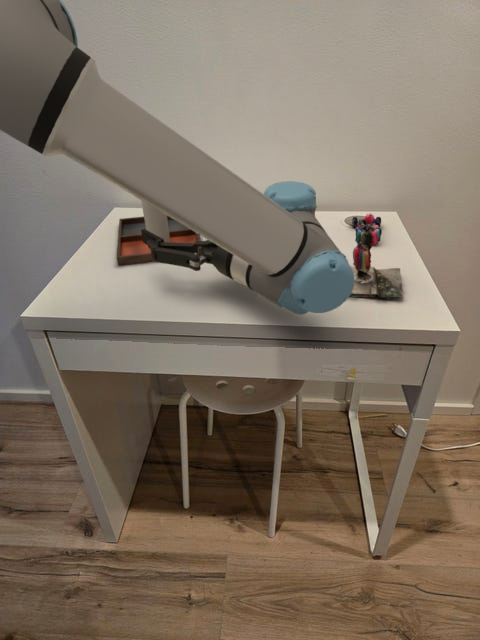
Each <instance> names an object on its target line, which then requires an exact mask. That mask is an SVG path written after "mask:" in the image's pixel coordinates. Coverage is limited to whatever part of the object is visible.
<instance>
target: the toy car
mask: <svg viewBox="0 0 480 640" xmlns="http://www.w3.org/2000/svg"><path fill="white" fill-rule="evenodd" d="M373 223H375V224H376V225H377V226H379V228H380V227H381V224H382V217H381V216H376V217H375V218H374V221H373ZM373 223H372V224H373ZM362 224H364V225H366V224H367V223H366V221H365V217H364V218H359V220H358V216H353V217H352V219H351V227H352V228H356V227H358V225H362ZM372 224H371V226H372Z"/></svg>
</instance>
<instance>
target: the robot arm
mask: <svg viewBox="0 0 480 640" xmlns="http://www.w3.org/2000/svg"><path fill="white" fill-rule="evenodd" d="M78 45H79V44H78V35H77V31H76V27H75V23H74V21H73V19H72V16H71V15H70V12H69V10H68V9H67V7H66V6H65V4H64V2H63V1H62V0H0V132H1V133H2V132H3V133H5V134H6V135H8V136H10V137H11V138H13V139H14V140H16V141H18V142H20V143H22V144H23V145H25V146H27V147H29V148H31V149H32V150H33V151H36V152H38V153H39V154H41V155H43V156H44V157H50V156H56V155H64V156H66V157H68V158H69V159H71V160H73V161H75V162H76V163H77V164H79V165H81V166H82V167H84V168H85V169H88V170H90V171H91V172H93V173H95V174H96V175H98V176H100V177H102V178H103V179H105V180H107V182H110V183H112V184H113V185H115V186H117V187H118V188H120V189H121V190H123V191H125V192H127V193H129V194H131V195H132V196H134V197H135V198H137V199H138V200H140V201H141V200H142V201H144V202H145V203H147V204H149V205H150V206H152V207H154V208H155V209H157V210H159V211H160V212H162V213H164V214H165V215H167V216H169V217H171V218H172V219H174V220H176V221H177V222H179V223H181V224H182V225H184V226H186V227H187V228H189V229H191V230H192V231H194V232H196V233H198V234H199V236H201V237H203V238H204V239H205V240H200V241H195V242H194V243H170V242H164V239H162V238H160V237H158V236H157V235H155V234H153V233H151V232H149V231H147V230H146V229H142V230H141V233H142V239H143V243H145V244H146V245H148V248H149V249H151V254H152V260H153V261H154V262H153V263H160V264H164V265H172V266H178V267H183V268H188V269H190V270H193V271H195V272H199V271H201V269H202V268H201V266H202V265H204V264H210V265H212V266H214V268H215V269H216V270H217V271H218V272H219V273H220V274H222V275H223V276H225V277H227V278H229V279H231V280H233V281H235V282H237V283H238V284H240V285H242V286H243V287H245V288H247V289H249V290H251V291H253V292H255V293H256V294H258V295H260V296H262V297H263V298H264V299H266V300H268V301H270V302H272V303H274V304H275V305H277V306H278V307H279V308H281V309H284V310H286V311H289V312H291V313H293V314H296V315H306V314H308V313H312V314H323V313H328V312H331V311H334V310H336V309H338V308H339V307H341V306H342V305H343V304H344V303H345V302H346V301H347V299H349V298H350V297H351V296H350V294H351V293H352V290H353V288H354V282H355V278H354V273H353V270H352V268H351V267H350V266H351V265H350V263H349V260H348V259H347V256H346V255H345V254H344V253H343V252H342V251H341V250H340V248H338V246H337V245H336V243H335V242H334V241H333V240H332V238H331V237H330V235H328V233H327V231H326V230H325V228H324V227H323V226H322V224H321V222H320V221H319V220H318V219H317V218H316V211H317V208H318V206H317V193H316V190H315V189H314V187H313V186H311V185H309V184H308V183H305V182H301V181H294V180H293V181H292V180H289V181H279V182H275V183H273V184H271V185H269V186H268V187H267V188H265V190H264V192H261V191H260V190H259V189H257V187H254V186H253V185H252V184H250V183H249V182H247V180H245V179H243V178H242V177H240V176H239V175H238V174H236V173H235V172H233V171H232V170H230V169H229V168H228V167H226V166H225V165H223V163H220V162H219V161H218V160H216V159H215V158H213V157H212V156H211V155H209V154H208V153H206V152H205V151H204V150H202V149H201V148H199V147H198V146H197V145H195V144H194V143H192V142H191V141H189V140H188V139H187V138H185V137H184V136H183V135H181V134H180V133H178V132H177V131H175V130H174V129H172V128H171V127H170V126H168V125H167V124H166V123H164V122H162V121H161V120H160V119H158V118H157V117H155V116H154V115H153V114H151V113H149V111H147V110H146V109H144V108H143V107H141V106H140V105H138V104H137V103H136V102H134V101H133V100H131V99H130V98H129V97H128V96H126V95H124V93H121V92H120V91H119V90H117V89H116V88H115V87H113V86H112V85H110V84H109V83H107V82H106V81H105V80H103V79H102V76H100V73H99V71H98V67H97V63H96V60H95V59H94V58H93V57H91V56H90V55H89V54H87V53H86V52H84V51H83V50H82V49H80V48H79V47H78ZM199 247H202V255H200V254H199Z"/></svg>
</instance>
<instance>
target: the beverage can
mask: <svg viewBox="0 0 480 640" xmlns="http://www.w3.org/2000/svg"><path fill="white" fill-rule="evenodd" d="M140 202H141V207H142V213H143V217H144V219H145V225H146V230H147V231H149V232H151V233H153V234H155V235H157V236H158V237H160V238H162V239H164V242H170V236H169V228H168V220H167V215H165V214H164V213H162V212H160V211H159V210H157V209H155V208H154V207H152V206H150V205H149V204H147V203H145V202H144V201H142V200H140Z"/></svg>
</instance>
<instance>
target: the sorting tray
mask: <svg viewBox="0 0 480 640" xmlns="http://www.w3.org/2000/svg"><path fill="white" fill-rule="evenodd" d="M167 220H168V228H169V236H170V243H194V242H195V241H201V238H200V235H199V234H198V233H196V232H194V231H192V230H191V229H189V228H187V227H186V226H184V225H182V224H181V223H179V222H177V221H176V220H174V219H172V218H171V217H169V216H167ZM142 229H146V225H145V219H144V216H135V217H126V218H119V221H118V231H117V246H116V247H117V248H116V261H117V265H118V266H126V265H127V266H128V265H135V264H144V263H152V262H153V263H155V262H154V261H153V260H152V254H151V249H149V248H148V245H146V244H145V243H143V239H142V233H141V230H142ZM199 254H200V255H202V247H199Z"/></svg>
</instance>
